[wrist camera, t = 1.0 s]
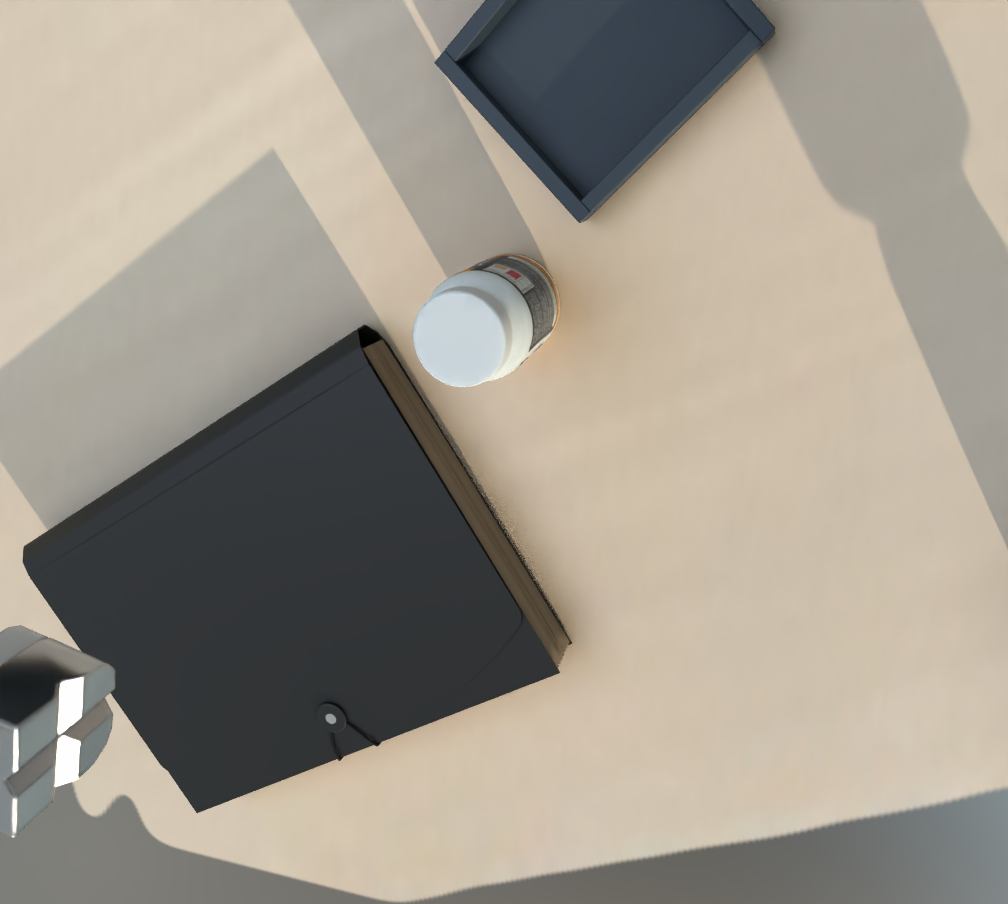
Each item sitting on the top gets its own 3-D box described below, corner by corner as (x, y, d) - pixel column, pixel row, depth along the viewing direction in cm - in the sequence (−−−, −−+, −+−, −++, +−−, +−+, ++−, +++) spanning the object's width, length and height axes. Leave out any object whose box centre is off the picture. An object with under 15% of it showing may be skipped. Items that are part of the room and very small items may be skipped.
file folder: (195, 818, 65) (8, 553, 62) (226, 782, 69) (51, 530, 66) (560, 679, 52) (346, 331, 49) (574, 644, 56) (376, 319, 52)
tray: (620, -144, 41) (613, -158, 39) (775, 33, 41) (775, 28, 39) (447, 65, 46) (434, 62, 44) (586, 220, 47) (579, 223, 45)
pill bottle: (487, 235, 48) (424, 257, 39) (579, 279, 48) (535, 310, 39) (453, 326, 51) (385, 365, 42) (539, 368, 50) (489, 417, 41)
